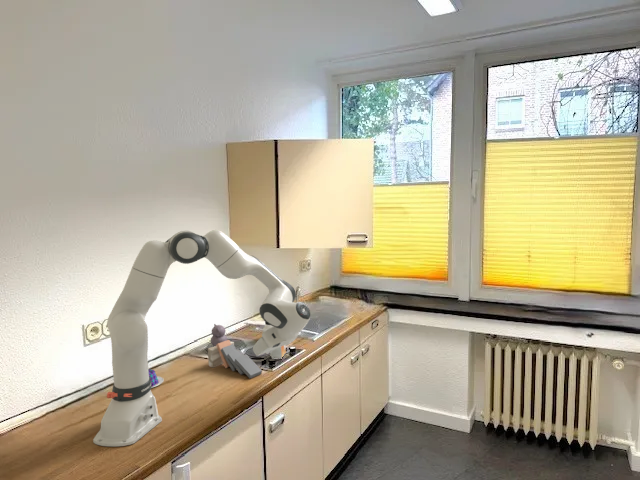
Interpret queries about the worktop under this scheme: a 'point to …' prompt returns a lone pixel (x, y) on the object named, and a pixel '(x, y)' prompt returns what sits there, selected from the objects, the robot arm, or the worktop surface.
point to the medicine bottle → (267, 327)
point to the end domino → (220, 346)
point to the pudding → (154, 378)
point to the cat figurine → (218, 335)
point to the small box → (279, 352)
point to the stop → (215, 356)
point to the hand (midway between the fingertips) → (267, 351)
